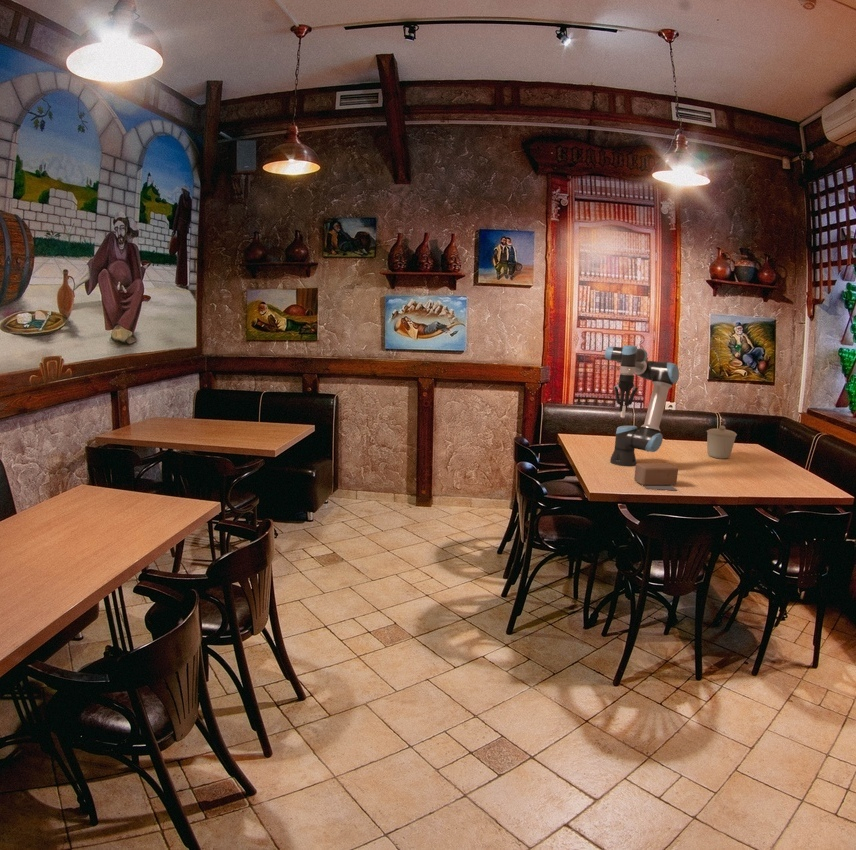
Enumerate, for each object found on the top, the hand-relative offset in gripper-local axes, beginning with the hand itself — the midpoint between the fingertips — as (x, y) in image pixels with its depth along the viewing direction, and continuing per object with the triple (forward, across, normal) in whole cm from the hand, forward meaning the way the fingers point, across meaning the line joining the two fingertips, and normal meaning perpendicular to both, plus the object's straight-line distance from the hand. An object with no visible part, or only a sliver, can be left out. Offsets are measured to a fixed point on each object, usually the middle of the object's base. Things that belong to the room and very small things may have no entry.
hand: (622, 417), depth 332 cm
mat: (+34, +18, -13) cm, 41 cm away
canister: (+35, +85, +62) cm, 111 cm away
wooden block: (+29, +8, -12) cm, 32 cm away
